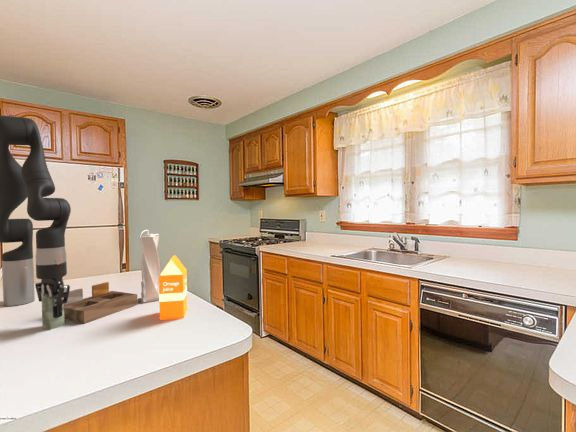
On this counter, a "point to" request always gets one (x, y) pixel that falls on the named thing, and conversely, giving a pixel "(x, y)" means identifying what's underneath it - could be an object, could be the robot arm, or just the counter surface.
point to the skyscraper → (150, 268)
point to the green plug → (50, 314)
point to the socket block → (96, 303)
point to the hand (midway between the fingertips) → (53, 315)
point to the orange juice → (173, 290)
